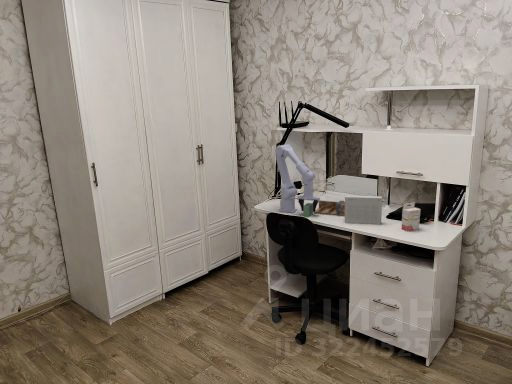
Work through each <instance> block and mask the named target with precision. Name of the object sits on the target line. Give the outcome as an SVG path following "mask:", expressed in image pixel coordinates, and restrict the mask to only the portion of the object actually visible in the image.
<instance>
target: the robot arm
mask: <svg viewBox="0 0 512 384" xmlns="http://www.w3.org/2000/svg"><path fill="white" fill-rule="evenodd" d="M274 152H275V155H276V156H275V159H276V164H277V166H278V170H279V175H280V178H281V179H280V180H281V182H282V185H281V187H280V190H281V193H280V195H281V198H280V200H279V212H282V213H283V212H285V213H294V212H296V211H298V209H297V208H296V205H295V204H296V201H295V200H296V199H297V200H298V201H297V202H298V204H299V206H300V208H301V211H302V212H303V206H304V205H305V201H312V203H313V213H314V212H315V210H317V206H318V205H319V201H320V200H321V198H320V197H317V196H314V180H315V177H316V175H315V172H314V171H312V170H310V169H309V168H308V167H307V165H306V163H304V162H302V161H300V159H299V157H298V156H297V154H296V153H295V152H294V148H293V147H292V146H291V144H289V143H287V144H281V145H277V146H276V148H275V149H274ZM287 157H288V158H289V159H290V160H291V161H292V162H293V164H294V165H295V169H296V170H297V172H299V174H300V176H301V179H302V181H303V182H302V184H303V195H298V196H297V194H298V190H297V188H296V185H295V184H294V183H293V182H292V181H291V176H290V174H289V171H288V166H287V162H286V158H287ZM296 196H297V197H296Z"/></svg>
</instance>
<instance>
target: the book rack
mask: <svg viewBox="0 0 512 384" xmlns="http://www.w3.org/2000/svg"><path fill="white" fill-rule="evenodd" d="M313 214H315V215H317V214H318V215H327V216H335V217H345V200H339V201H329V200H321V199H320V201H319V202H318V208H316V210H315V212H313Z"/></svg>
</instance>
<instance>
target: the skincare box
mask: <svg viewBox="0 0 512 384" xmlns="http://www.w3.org/2000/svg"><path fill="white" fill-rule="evenodd" d="M344 202H345V216H344V223H346V224H365V225H367V224H368V225H381V224H382V215H383V214H382V211H383V210H382V209H383V208H382V206H383V196H377V195H376V196H375V195H345V196H344Z"/></svg>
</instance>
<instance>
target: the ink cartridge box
mask: <svg viewBox="0 0 512 384" xmlns="http://www.w3.org/2000/svg"><path fill="white" fill-rule="evenodd" d="M402 205H403V206H402V211H401V212H402V214H401V217H402V218H401V229H402V230H403V229H404V231H406V232H410V231H415V229H417V230H419V229H420V220H421V218H420V217H421V208H418V207H415V205H416V202H415V201H413V202H408V203H407V202H406V203H403V204H402Z"/></svg>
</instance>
